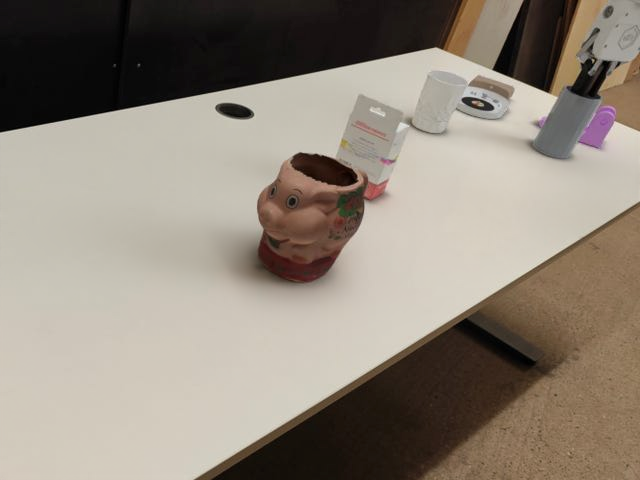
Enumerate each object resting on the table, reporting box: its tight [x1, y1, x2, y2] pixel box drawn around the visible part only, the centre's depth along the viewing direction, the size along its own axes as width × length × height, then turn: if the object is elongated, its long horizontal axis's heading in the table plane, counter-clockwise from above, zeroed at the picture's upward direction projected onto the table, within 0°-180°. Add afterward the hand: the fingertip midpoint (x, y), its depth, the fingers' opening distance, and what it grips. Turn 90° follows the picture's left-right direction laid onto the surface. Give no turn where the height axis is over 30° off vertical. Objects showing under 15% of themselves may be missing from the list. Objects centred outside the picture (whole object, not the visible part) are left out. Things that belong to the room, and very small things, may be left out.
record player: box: [456, 74, 516, 120], centre depth 152 cm, size 12×3×20 cm
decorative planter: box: [256, 151, 368, 283], centre depth 89 cm, size 20×12×14 cm, turn 135°
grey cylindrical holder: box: [532, 84, 604, 160], centre depth 134 cm, size 7×7×12 cm
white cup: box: [411, 69, 469, 134], centre depth 135 cm, size 8×8×10 cm
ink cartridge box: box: [335, 93, 411, 201], centre depth 108 cm, size 9×5×15 cm, turn 47°
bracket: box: [538, 105, 617, 149], centre depth 145 cm, size 13×6×7 cm, turn 59°
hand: (582, 93), depth 130 cm, fingers closed
